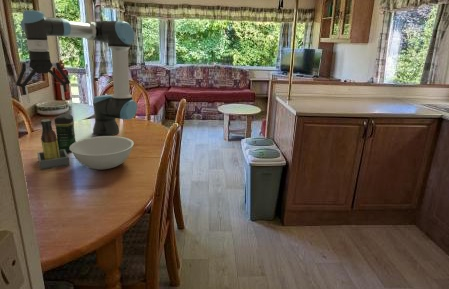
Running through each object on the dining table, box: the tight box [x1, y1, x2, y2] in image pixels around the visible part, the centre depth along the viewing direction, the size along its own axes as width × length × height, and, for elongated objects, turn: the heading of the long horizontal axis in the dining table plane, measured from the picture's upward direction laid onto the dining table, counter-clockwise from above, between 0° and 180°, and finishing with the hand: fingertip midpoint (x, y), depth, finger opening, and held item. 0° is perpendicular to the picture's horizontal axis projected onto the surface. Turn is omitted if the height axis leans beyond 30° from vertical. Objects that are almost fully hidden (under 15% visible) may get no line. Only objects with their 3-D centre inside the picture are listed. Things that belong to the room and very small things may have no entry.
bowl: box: [69, 135, 135, 170], centre depth 143 cm, size 27×27×10 cm
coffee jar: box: [54, 113, 77, 153], centre depth 159 cm, size 10×8×19 cm
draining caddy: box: [37, 149, 70, 171], centre depth 144 cm, size 12×13×4 cm
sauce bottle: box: [40, 118, 60, 160], centre depth 141 cm, size 6×6×20 cm
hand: (46, 101), depth 138 cm, fingers open, 13 cm apart
